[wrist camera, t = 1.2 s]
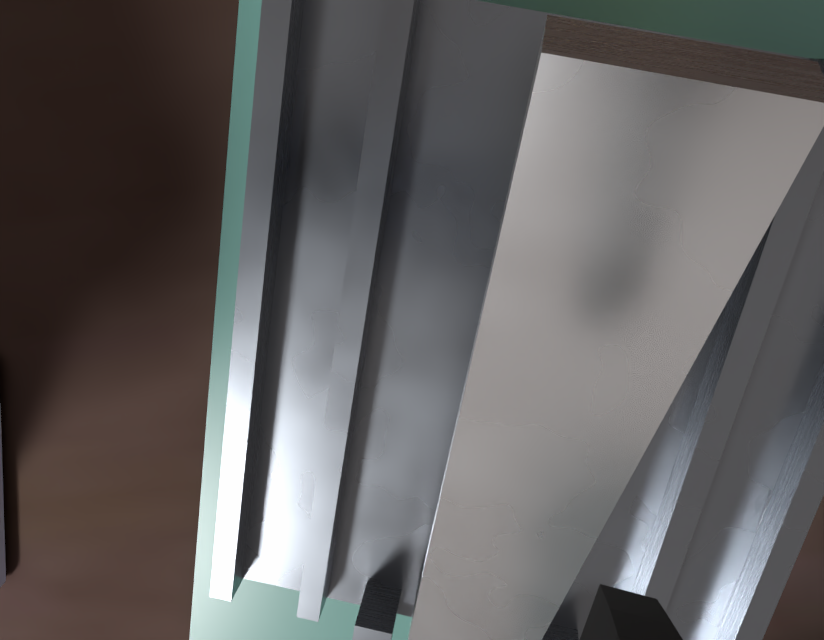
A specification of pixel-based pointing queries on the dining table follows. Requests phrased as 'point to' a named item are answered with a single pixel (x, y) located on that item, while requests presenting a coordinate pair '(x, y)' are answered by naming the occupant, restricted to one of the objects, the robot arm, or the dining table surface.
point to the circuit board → (253, 601)
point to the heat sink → (473, 335)
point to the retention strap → (600, 300)
